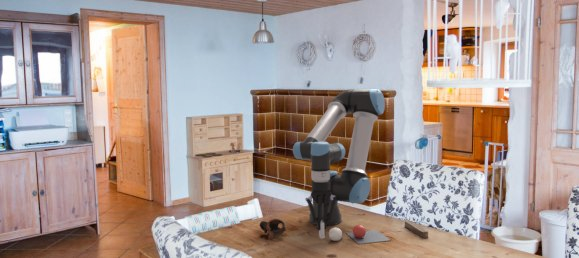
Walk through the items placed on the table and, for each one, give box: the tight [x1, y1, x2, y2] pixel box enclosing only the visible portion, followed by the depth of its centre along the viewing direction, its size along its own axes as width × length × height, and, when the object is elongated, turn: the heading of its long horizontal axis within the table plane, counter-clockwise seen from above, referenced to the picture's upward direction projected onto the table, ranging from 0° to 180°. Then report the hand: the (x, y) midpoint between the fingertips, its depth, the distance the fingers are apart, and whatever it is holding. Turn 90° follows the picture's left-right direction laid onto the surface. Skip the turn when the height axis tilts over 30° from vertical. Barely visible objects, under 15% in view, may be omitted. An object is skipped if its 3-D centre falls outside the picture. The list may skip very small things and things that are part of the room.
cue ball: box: [328, 227, 343, 242], centre depth 195 cm, size 6×6×6 cm
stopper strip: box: [404, 220, 429, 239], centre depth 203 cm, size 2×16×2 cm, turn 13°
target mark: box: [346, 229, 391, 245], centre depth 199 cm, size 14×14×1 cm
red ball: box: [352, 224, 367, 238], centre depth 197 cm, size 6×6×6 cm
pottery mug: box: [259, 218, 287, 240], centre depth 203 cm, size 12×10×8 cm
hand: (321, 237), depth 194 cm, fingers closed
